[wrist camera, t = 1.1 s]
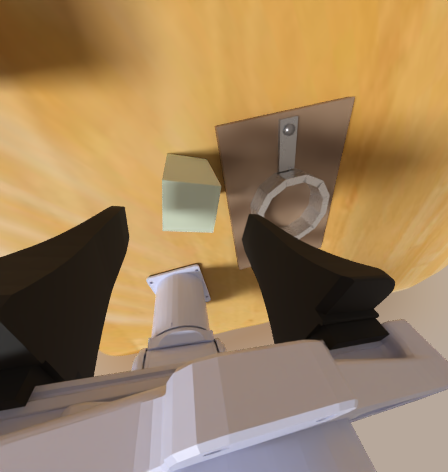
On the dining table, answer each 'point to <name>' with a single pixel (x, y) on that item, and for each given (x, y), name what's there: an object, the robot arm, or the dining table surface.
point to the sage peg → (189, 194)
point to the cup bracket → (284, 168)
